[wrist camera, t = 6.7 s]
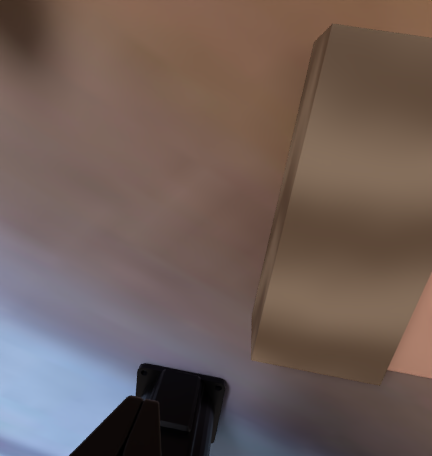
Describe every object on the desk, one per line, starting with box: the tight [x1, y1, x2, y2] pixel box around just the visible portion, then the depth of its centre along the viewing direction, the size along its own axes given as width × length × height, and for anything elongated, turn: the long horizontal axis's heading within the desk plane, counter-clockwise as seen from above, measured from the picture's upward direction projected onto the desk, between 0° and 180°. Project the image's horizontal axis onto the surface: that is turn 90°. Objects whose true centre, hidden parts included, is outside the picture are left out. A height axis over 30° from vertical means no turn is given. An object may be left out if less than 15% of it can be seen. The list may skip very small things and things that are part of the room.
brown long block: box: [251, 24, 432, 386], centre depth 16 cm, size 16×7×4 cm, turn 172°
